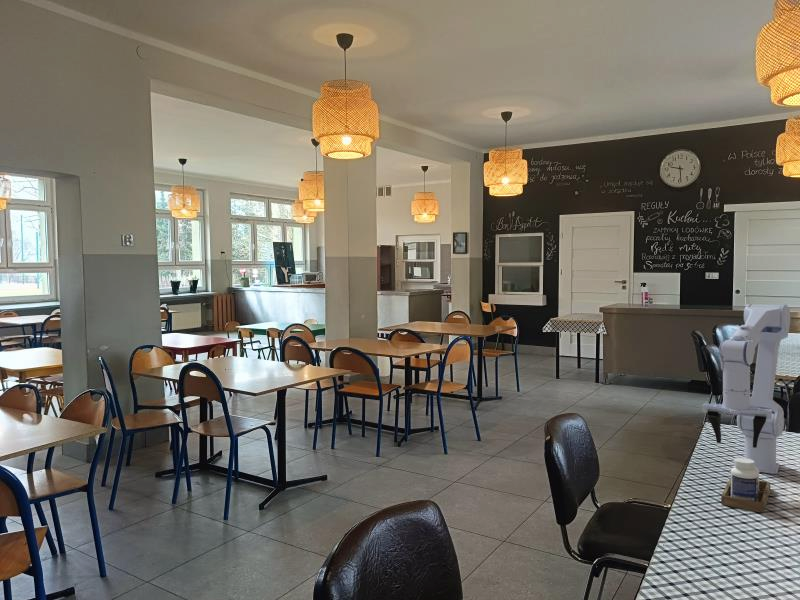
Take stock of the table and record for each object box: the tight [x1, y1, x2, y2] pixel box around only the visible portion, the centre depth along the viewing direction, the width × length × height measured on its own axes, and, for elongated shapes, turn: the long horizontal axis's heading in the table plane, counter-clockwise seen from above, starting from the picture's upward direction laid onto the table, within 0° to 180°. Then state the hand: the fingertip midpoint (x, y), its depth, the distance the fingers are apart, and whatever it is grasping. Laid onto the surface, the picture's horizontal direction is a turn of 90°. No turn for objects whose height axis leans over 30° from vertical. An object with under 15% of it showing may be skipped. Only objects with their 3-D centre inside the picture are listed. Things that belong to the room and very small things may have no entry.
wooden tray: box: [720, 477, 771, 513], centre depth 136 cm, size 16×8×2 cm, turn 143°
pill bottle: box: [730, 457, 759, 502], centre depth 133 cm, size 5×5×10 cm
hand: (736, 444), depth 143 cm, fingers open, 7 cm apart
